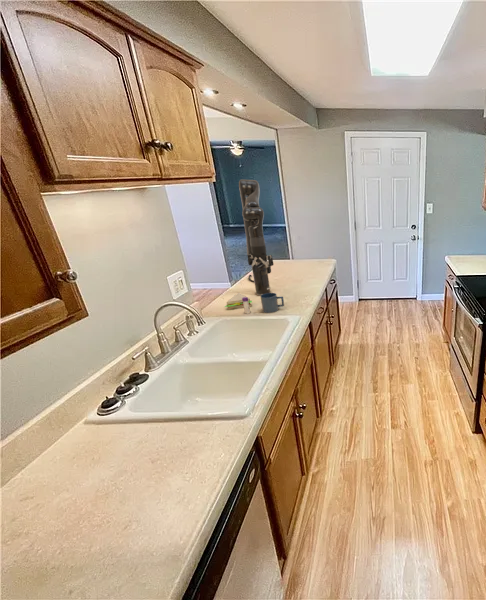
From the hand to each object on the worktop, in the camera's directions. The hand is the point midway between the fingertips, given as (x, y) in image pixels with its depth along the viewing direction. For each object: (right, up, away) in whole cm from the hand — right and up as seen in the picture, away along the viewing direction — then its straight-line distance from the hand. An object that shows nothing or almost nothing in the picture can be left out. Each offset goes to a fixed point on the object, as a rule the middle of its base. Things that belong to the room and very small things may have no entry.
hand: (262, 272), depth 187 cm
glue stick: (-12, -23, +8) cm, 27 cm away
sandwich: (-23, -18, +22) cm, 36 cm away
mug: (+2, -21, +12) cm, 25 cm away
